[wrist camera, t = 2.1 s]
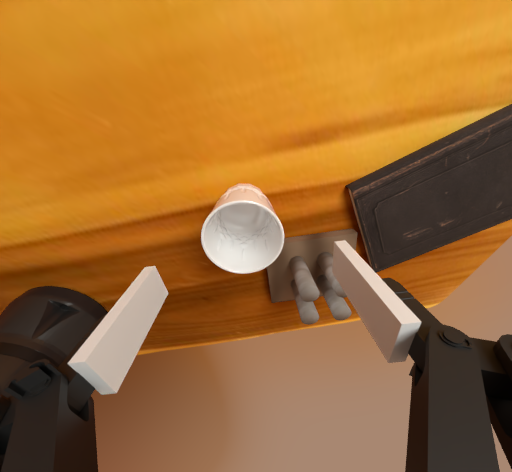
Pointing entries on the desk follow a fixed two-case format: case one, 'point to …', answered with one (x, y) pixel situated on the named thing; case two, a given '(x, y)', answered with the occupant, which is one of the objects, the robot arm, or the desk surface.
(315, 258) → the peg stand
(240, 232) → the white cup
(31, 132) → the desk surface
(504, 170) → the hardcover book
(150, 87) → the desk surface
